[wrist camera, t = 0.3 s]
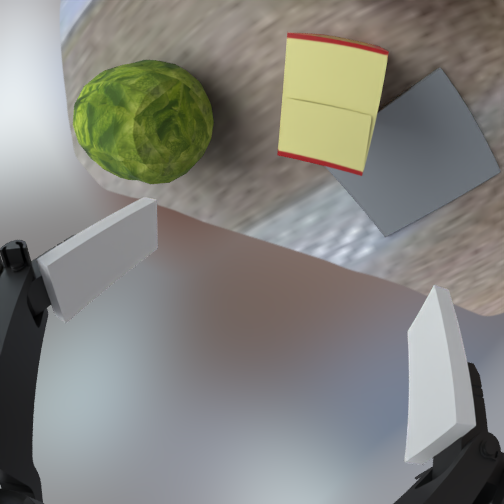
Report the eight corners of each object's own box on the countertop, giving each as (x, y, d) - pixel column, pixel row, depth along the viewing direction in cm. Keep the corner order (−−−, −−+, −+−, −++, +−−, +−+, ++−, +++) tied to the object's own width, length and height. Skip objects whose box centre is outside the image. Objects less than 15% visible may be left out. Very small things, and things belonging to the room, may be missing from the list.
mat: (439, 67, 22) (440, 68, 22) (498, 169, 26) (500, 171, 26) (318, 156, 36) (317, 158, 36) (385, 233, 40) (385, 237, 40)
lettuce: (124, 57, 37) (45, 103, 31) (208, 34, 26) (88, 87, 20) (155, 134, 49) (88, 183, 42) (240, 147, 38) (153, 218, 31)
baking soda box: (322, 34, 25) (285, 32, 15) (379, 46, 24) (389, 52, 13) (313, 106, 32) (276, 157, 21) (366, 119, 31) (361, 178, 20)
